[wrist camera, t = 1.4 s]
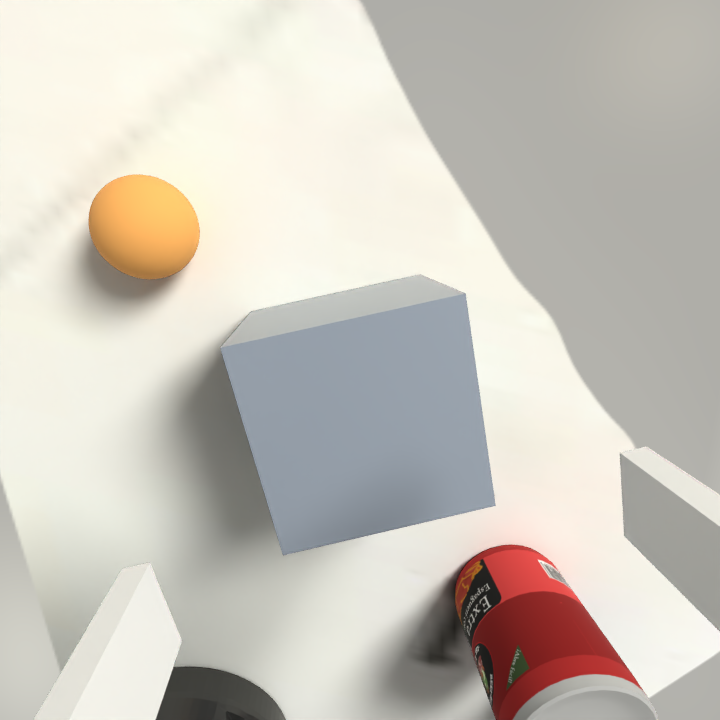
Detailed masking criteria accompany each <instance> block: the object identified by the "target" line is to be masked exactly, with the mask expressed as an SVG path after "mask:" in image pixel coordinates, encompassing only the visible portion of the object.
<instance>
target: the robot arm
mask: <svg viewBox="0 0 720 720" xmlns="http://www.w3.org/2000/svg"><path fill="white" fill-rule="evenodd" d="M620 466H621V485H622V504H623V523H624V536H625V537H626V538H627V539H628V540H629V541H630V542H631V543H632V544H633V545H634V546H635V547H636V548H637V549H638V550H639V551H640V552H641V553H642V554H643V555H644V556H645V557H646V558H647V559H648V560H649V561H650V562H651V563H652V564H653V565H654V566H655V567H656V568H657V569H658V570H659V571H660V572H661V573H662V574H663V575H664V576H665V577H666V578H667V579H668V580H669V581H670V582H671V583H672V584H673V585H674V586H675V587H676V588H677V589H678V590H679V591H680V592H681V593H682V594H683V595H684V596H685V597H686V598H687V599H688V600H689V601H690V602H691V603H692V604H693V605H694V606H695V607H696V608H697V609H698V610H699V611H700V612H701V613H702V614H703V615H704V616H705V617H706V618H707V619H708V620H709V621H710V622H711V623H712V624H713V625H714V626H715V627H716V628H717V629H718V630H719V631H720V495H719V494H718V493H716V492H715V491H713V490H712V489H710V488H708V487H707V486H706V485H704V484H703V483H701V482H700V481H698V480H697V479H695V478H693V477H692V476H690V475H689V474H687V473H686V472H684V471H683V470H681V469H680V468H678V467H677V466H675V465H674V464H672V463H671V462H669V461H668V460H666V459H665V458H663V457H662V456H660V455H658V454H657V453H656V452H654V451H653V450H651V449H650V448H648V447H642V448H638V449H633V450H629V451H625V452H621V453H620ZM181 643H182V640H181V637H180V635H179V632H178V630H177V627H176V625H175V622H174V620H173V617H172V615H171V613H170V610H169V608H168V605H167V603H166V600H165V598H164V595H163V593H162V590H161V588H160V586H159V583H158V581H157V578H156V576H155V573H154V571H153V568H152V566H151V563H150V562H149V563H145V564H140V565H136V566H132V567H127V568H123V569H121V571H120V573H119V575H118V576H117V578H116V580H115V581H114V583H113V585H112V586H111V588H110V590H109V592H108V593H107V595H106V597H105V598H104V600H103V602H102V604H101V605H100V607H99V609H98V610H97V612H96V614H95V615H94V617H93V619H92V621H91V622H90V624H89V626H88V627H87V629H86V631H85V633H84V634H83V636H82V638H81V639H80V641H79V643H78V644H77V646H76V648H75V650H74V651H73V653H72V655H71V656H70V658H69V660H68V661H67V663H66V665H65V667H64V668H63V670H62V672H61V673H60V675H59V677H58V679H57V680H56V682H55V684H54V685H53V687H52V689H51V690H50V692H49V694H48V696H47V697H46V699H45V701H44V702H43V704H42V706H41V708H40V709H39V711H38V713H37V714H36V716H35V718H34V720H286V719H285V717H284V715H283V713H282V711H281V709H280V708H279V706H278V705H277V704H276V702H275V701H274V700H273V699H272V698H271V697H270V696H269V695H268V694H267V693H266V692H264V691H263V690H262V689H261V688H259V687H258V686H256V685H255V684H253V683H251V682H249V681H248V680H246V679H243V678H241V677H239V676H236V675H233V674H230V673H227V672H223V671H219V670H214V669H208V668H196V667H183V668H173V666H174V663H175V660H176V657H177V654H178V652H179V649H180V646H181Z"/></svg>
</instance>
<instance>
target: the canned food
mask: <svg viewBox="0 0 720 720" xmlns="http://www.w3.org/2000/svg"><path fill="white" fill-rule="evenodd" d="M455 604H456V608H457V612H458V615H459V618H460V621H461V623H462V626H463V629H464V632H465V635H466V637H467V640H468V643H469V646H470V649H471V651H472V654H473V657H474V660H475V663H476V665H477V668H478V671H479V674H480V676H481V679H482V682H483V685H484V688H485V690H486V693H487V696H488V699H489V702H490V704H491V707H492V710H493V713H494V716H495V718H496V720H659V718H658V716H657V713H656V710H655V709H654V707H653V706H652V704H651V703H650V700H649V698H648V697H647V695H646V694H645V692H644V691H643V689H642V688H641V687H640V685H639V684H638V682H637V680H636V679H635V677H634V676H633V675H632V673H631V672H630V670H629V669H628V668H627V666H626V665H625V663H624V662H623V661H622V659H621V658H620V656H619V655H618V654H617V652H616V651H615V649H614V648H613V647H612V645H611V644H610V642H609V641H608V640H607V638H606V637H605V635H604V634H603V633H602V631H601V630H600V628H599V627H598V626H597V624H596V623H595V621H594V620H593V619H592V617H591V616H590V614H589V613H588V612H587V610H586V609H585V607H584V606H583V605H582V603H581V602H580V600H579V599H578V598H577V596H576V595H575V593H574V592H573V591H572V589H571V588H570V586H569V585H568V584H567V582H566V581H565V579H564V578H563V577H562V575H561V574H560V572H559V571H558V570H557V568H556V567H555V566H554V564H553V563H552V562H551V561H549V560H548V559H547V558H546V557H544V556H543V555H541V554H540V553H539V552H537V551H535V550H533V549H531V548H528V547H524V546H519V545H502V546H498V547H494V548H491V549H488V550H486V551H483V552H482V553H480V554H478V555H477V556H475V557H474V558H473V559H472V560H470V561H469V562H468V563H467V564H466V566H465V567H464V568H463V569H462V571H461V573H460V575H459V577H458V579H457V583H456V587H455Z"/></svg>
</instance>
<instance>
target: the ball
mask: <svg viewBox="0 0 720 720" xmlns="http://www.w3.org/2000/svg"><path fill="white" fill-rule="evenodd" d="M89 230H90V234H91V238H92V240H93V243H94V245H95V247H96V248H97V250H98V252H99V253H100V254H101V256H102V257H103V258H104V259H105V260H106V261H107V262H108V263H109V264H110V265H112V266H113V267H114V268H116V269H117V270H119V271H121V272H123V273H125V274H127V275H130V276H132V277H136V278H141V279H160V278H165V277H168V276H171V275H173V274H175V273H177V272H178V271H180V270H182V269H183V268H184V267H185V266H186V265H187V264H188V263H189V262H190V261H191V259H192V258H193V256H194V254H195V252H196V250H197V247H198V243H199V234H200V230H199V223H198V219H197V216H196V213H195V211H194V209H193V207H192V205H191V204H190V202H189V201H188V199H187V198H186V197H185V196H184V195H183V194H182V193H181V192H180V191H179V190H178V189H177V188H175V187H174V186H173V185H171V184H169V183H167V182H166V181H164V180H161V179H159V178H156V177H152V176H147V175H128V176H124V177H120V178H117V179H115V180H113V181H111V182H110V183H108V184H107V185H105V186H104V187H103V188H102V189H101V190H100V191H99V192H98V194H97V195H96V197H95V198H94V200H93V202H92V205H91V208H90V212H89Z"/></svg>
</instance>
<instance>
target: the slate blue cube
mask: <svg viewBox="0 0 720 720" xmlns="http://www.w3.org/2000/svg"><path fill="white" fill-rule="evenodd" d="M220 349H221V352H222V356H223V359H224V362H225V366H226V369H227V372H228V375H229V379H230V382H231V385H232V389H233V392H234V395H235V398H236V402H237V405H238V408H239V412H240V415H241V418H242V422H243V425H244V428H245V431H246V435H247V438H248V441H249V445H250V448H251V451H252V455H253V458H254V461H255V464H256V468H257V471H258V474H259V478H260V481H261V484H262V487H263V491H264V494H265V497H266V501H267V504H268V507H269V511H270V514H271V517H272V520H273V524H274V527H275V530H276V534H277V537H278V540H279V544H280V547H281V550H282V553H283V555H287V554H291V553H295V552H300V551H304V550H308V549H312V548H317V547H321V546H325V545H329V544H334V543H338V542H342V541H347V540H351V539H355V538H359V537H364V536H368V535H372V534H377V533H381V532H385V531H389V530H394V529H398V528H402V527H407V526H411V525H415V524H419V523H424V522H428V521H432V520H436V519H441V518H445V517H449V516H454V515H458V514H462V513H466V512H471V511H475V510H479V509H484V508H488V507H492V506H495V499H494V491H493V484H492V477H491V470H490V463H489V456H488V449H487V442H486V435H485V428H484V421H483V414H482V407H481V400H480V393H479V385H478V378H477V371H476V364H475V357H474V350H473V343H472V336H471V329H470V322H469V315H468V308H467V301H466V294H465V293H463V292H461V291H458V290H456V289H454V288H451V287H449V286H447V285H444V284H442V283H439V282H437V281H435V280H432V279H430V278H428V277H425V276H423V275H415V276H411V277H406V278H402V279H397V280H392V281H388V282H383V283H379V284H374V285H370V286H365V287H360V288H356V289H351V290H347V291H342V292H338V293H333V294H329V295H324V296H319V297H315V298H310V299H306V300H301V301H297V302H292V303H288V304H283V305H278V306H274V307H269V308H265V309H260V310H256V311H251V312H250V313H249V314H248V316H247V317H246V318H245V319H244V320H243V322H242V323H241V324H240V325H239V326H238V327H237V329H236V330H235V331H234V332H233V333H232V334H231V336H230V337H229V338H228V339H227V340H226V341H225V343H224V344H223V345H222V346H221V347H220Z"/></svg>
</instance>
